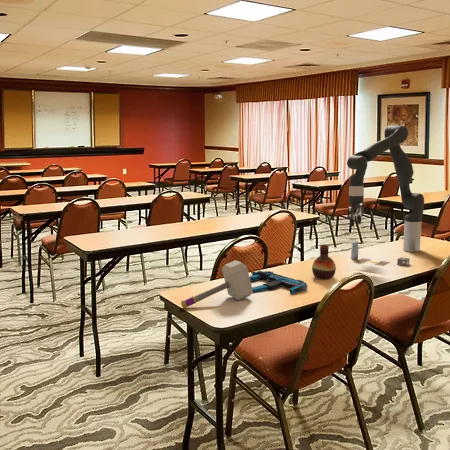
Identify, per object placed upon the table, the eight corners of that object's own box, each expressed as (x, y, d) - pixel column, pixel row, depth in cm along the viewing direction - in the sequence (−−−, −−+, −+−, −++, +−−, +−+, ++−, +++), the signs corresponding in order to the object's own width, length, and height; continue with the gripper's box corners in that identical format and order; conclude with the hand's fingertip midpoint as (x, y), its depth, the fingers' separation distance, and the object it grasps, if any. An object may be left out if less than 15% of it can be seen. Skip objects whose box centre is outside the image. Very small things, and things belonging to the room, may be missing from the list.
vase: (335, 274, 259) (336, 243, 257) (335, 281, 249) (336, 248, 246) (312, 273, 262) (313, 243, 259) (311, 280, 251) (311, 247, 248)
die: (400, 265, 275) (400, 257, 275) (409, 267, 273) (409, 258, 272) (397, 267, 272) (397, 258, 271) (405, 268, 269) (406, 260, 268)
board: (353, 259, 290) (353, 256, 290) (391, 264, 277) (391, 262, 277) (345, 262, 282) (345, 260, 282) (383, 268, 270) (383, 266, 269)
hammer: (181, 290, 207) (245, 262, 219) (173, 285, 214) (236, 258, 226) (191, 324, 211) (253, 295, 224) (183, 319, 218) (244, 290, 230)
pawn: (352, 257, 287) (353, 240, 285) (359, 258, 285) (359, 241, 283) (349, 259, 284) (350, 241, 282) (356, 260, 282) (356, 242, 280)
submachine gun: (221, 277, 249) (262, 265, 264) (222, 284, 250) (262, 273, 264) (272, 294, 222) (313, 280, 237) (272, 302, 223) (314, 288, 238)
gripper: (355, 192, 286) (354, 222, 289) (343, 195, 275) (342, 226, 278) (368, 193, 281) (367, 223, 284) (357, 196, 270) (356, 227, 273)
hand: (355, 225), depth 281 cm, fingers open, 8 cm apart
